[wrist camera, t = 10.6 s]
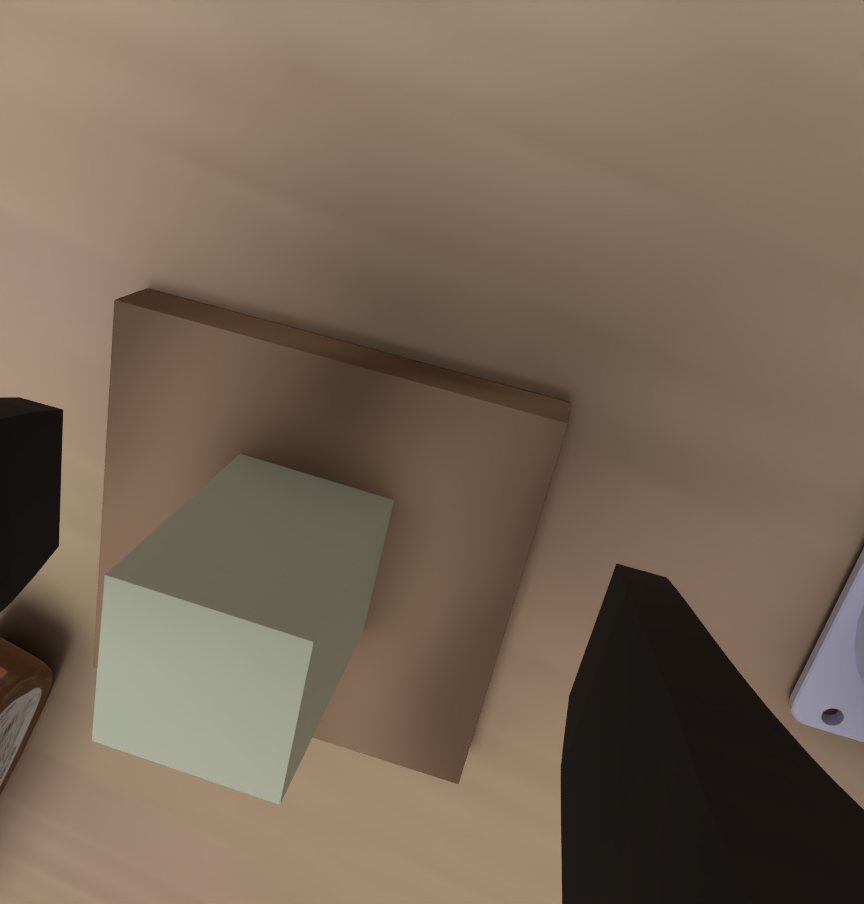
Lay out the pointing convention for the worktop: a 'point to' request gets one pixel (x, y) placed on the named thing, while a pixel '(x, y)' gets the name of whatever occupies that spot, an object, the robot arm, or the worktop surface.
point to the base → (355, 465)
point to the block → (237, 624)
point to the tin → (19, 701)
